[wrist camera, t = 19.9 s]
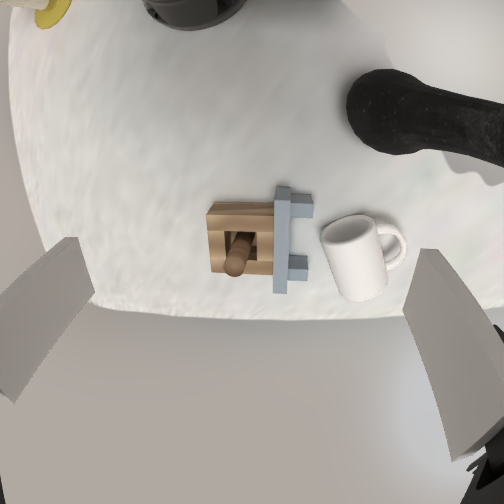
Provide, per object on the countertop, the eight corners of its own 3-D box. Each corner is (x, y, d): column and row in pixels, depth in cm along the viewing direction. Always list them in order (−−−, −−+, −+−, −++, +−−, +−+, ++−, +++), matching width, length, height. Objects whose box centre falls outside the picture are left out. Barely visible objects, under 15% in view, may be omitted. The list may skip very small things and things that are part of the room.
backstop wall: (276, 186, 41) (274, 200, 35) (311, 187, 40) (315, 201, 35) (274, 271, 47) (272, 293, 42) (305, 272, 47) (307, 294, 42)
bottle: (409, 149, 35) (566, 249, 9) (339, 144, 37) (449, 250, 11) (409, 77, 30) (584, 79, 4) (337, 70, 32) (456, 5, 6)
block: (214, 202, 43) (206, 214, 38) (275, 203, 42) (274, 216, 37) (218, 255, 47) (211, 272, 43) (274, 257, 46) (273, 275, 42)
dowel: (237, 224, 44) (222, 257, 35) (254, 224, 43) (243, 258, 34) (238, 240, 45) (224, 276, 36) (255, 240, 44) (245, 277, 36)
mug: (336, 278, 47) (342, 309, 40) (317, 226, 43) (322, 252, 36) (402, 254, 43) (419, 282, 36) (390, 200, 39) (409, 221, 32)
